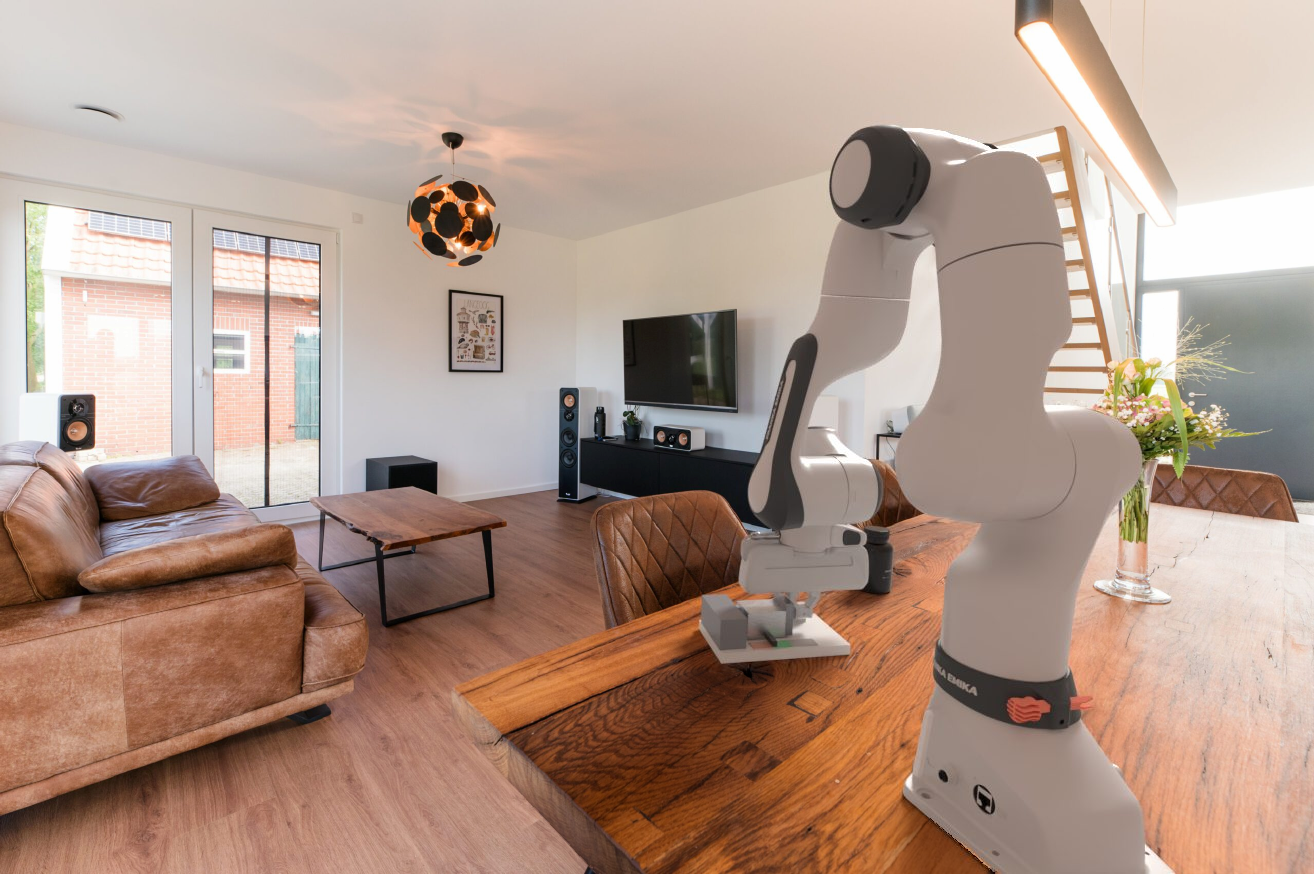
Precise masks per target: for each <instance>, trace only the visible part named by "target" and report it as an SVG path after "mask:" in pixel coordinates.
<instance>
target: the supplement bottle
mask: <svg viewBox="0 0 1314 874" xmlns="http://www.w3.org/2000/svg"><path fill="white" fill-rule="evenodd" d="M862 531H863V532H865V533H866V535H867V540H866V544H865V545H863V547H864V548H865V549H866V550H867V553H868V561H869V576H868V583H867V584H866V585H865V587H864V588H863V589H858V590H860V591H862V592H865V593H868V594H875V595H876V594H877V595H880V594H882V595H883V594H888V593H889V592H890V591H891V588H892V581H893V580H892V579H893V568H894V567H893V566H894V558H895V557H894V555H895V553H894V552H895V548H894V546H893V545H892V544H891V542H889V541H890V539H891V538H890V535H891V533H890V532H891V531H890V529H889V528H887V527H884V526H877V525H868V526H867V525H866V526H864V527H863V530H862Z"/></svg>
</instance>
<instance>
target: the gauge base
mask: <svg viewBox="0 0 1314 874" xmlns="http://www.w3.org/2000/svg"><path fill="white" fill-rule="evenodd" d="M797 603H798V604H804V603H805V601H797ZM700 613H701V615H700V619H699V620H698V630H699V631H700V633H701V634H702V636H703V638H704V639H705V641H706V642H707V644H708V645H709V647H710V649H711V650H712V652H713V653H714V655H715V656H716V657H717V659H718V661H719V663H720V664H734V663H747V662H748V663H749V662H762V661H763V662H764V661H776V660H777V661H778V660H789V659H790V660H792V659H802V658H803V659H805V658H818V657H820V658H821V657H835V656H846V655H847V656H849V655H851V647H852V646H851V644H850V643H849V642H848V641H847V640H846V639H845V638H843V636H841V635H840V634H839V633H837V631H835V629H833V628H832V627H831V626H829V625H828V624H827V623H826V622H825V621H824V620H823V619H821V618H820V617H819V615H817V614H816V613H813V615H812V618H805V619H794V618H793V630H792V635H791V636H785V637H774V638H775V639H776V640H777V641H778V642H777V647H772V645H771V644H770V643H769V642H768V641H767V640H766V638H753V639H747V638H746V637H747V618H746V617H745V615H744V614H743V613H742V612H741V611H740V610H739V609H738V607H737V604H735V602H733V600H732V599H731V598H730V597H729V595H728V594H727V593H719V594H718V593H717V594H701V612H700Z"/></svg>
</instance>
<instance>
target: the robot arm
mask: <svg viewBox="0 0 1314 874" xmlns="http://www.w3.org/2000/svg"><path fill="white" fill-rule="evenodd" d="M837 152H838V153H837V155H836V156H835V159H834V161H833V164H832V166H831V170H830V175H829V181H828V182H829V184H828V186H829V187H828V189H829V191H828V192H829V197H830V201H831V205H832V208H833V210H834V213H835V214H836V215H837V217H839V218H840V221H839V222H838V224H837V226H836V228H835V231H834V233H833V237H832V239H831V243H830V247H829V249H828V250H829V251H828V255H827V259H826V262H825V268H824V273H823V276H822V277H823V278H822V283H821V285H822V286H821V289H820V291H821V292H820V295H821V296H820V300H819V304H818V308H817V311H816V314H815V317H814V319H813V321H812V323H811V324H810V327H809V329H807V331H806V332H805V334H804V335H802V336H800V337H798V338H797V339H795V341H793V343H792V345H791V347H790V349H789V352H788V354H787V356H786V360H785V363H784V365H783V369H782V373H781V375H780V379H779V382H778V386H777V389H776V394H775V397H774V401H773V404H772V408H771V412H770V415H769V419H768V423H767V425H766V430H765V433H764V437H763V442H762V445H761V448H760V451H759V454H758V456H757V457H756V461H755V463H754V465H753V467H752V470H751V473H750V477H749V479H748V485H747V501H748V505H749V509H750V510H751V512H752V513H753V515H754V516H755V517H756V518H757V519H758V520H759V521H760V522H761V523H763V525H764V526H766V527H767V528H769V529H771V530H773V531H763V532H762V531H761V532H759V531H753V532H752V531H751V532H750V534H748V535H746V536H744V538H743V539H742V540H741V543H740V556H741V560H740V566H739V571H738V572H739V574H738V583H739V586H741V588H742V589H743V590H744V591H745V592H746V593H747V594H748V595H763V594H766V595H768V594H774V593H783V594H784V595H785V596H786V597H787V598H788V599H789V600H790V601H792V602H793V603H794V611H793V618H794V619H805V618H812V615H813V614H814V613H813V612H814V611H813V610H814V608H815V607H816V605H817V603H818V602H819V601H820V599H821V598H822V597H821V595H822V593H821V592H828V591H829V592H830V591H846V590H848V591H850V590H851V591H852V590H853V591H854V590H859V589H863V588H864V587H865V585H866V584H867V583H868V576H869V561H868V553H867V550H866V549H865V548H864V547H863V545H865V544H866V540H867V535H866V533H865V532H863V531H864V530H861V529H860V528H858V527H857V526H854V525H856V524H857V525H858V524H861V523H867V522H869V521H870V520H872V519H873V518H874V517H875V516H876V514H877V513H878V512H879V510H880V508H881V505H882V502H883V497H884V481H883V478H882V475H881V473H880V472H879V469H878V468H877V467H876V466H875V464H874V463H873V462H872V461H870V460H869V459H868V458H867V457H861V456H859V455H858V454H857V453H855V452H854V451H852V450H851V449H849V448H848V447H847V446H846V445H845V444H844V443H843V442H842V440H841V437H840V434H839V432H838V430H837V429H835V428H832V427H830V426H823V425H822V426H820V425H819V426H817V425H815V426H809V424H810V421H811V418H812V414H813V410H814V407H815V403H816V401H817V399H818V398H819V396H820V395H821V393H822V392H823V391H824V390H826V388H828V386H830V385H832V384H833V383H835V382H836V381H839V380H840V379H842V378H844V377H847V376H850V375H852V374H854V373H857V372H859V371H860V372H861V371H862V370H865V369H867V368H871V367H872V366H874V365H876V364H878V363H880V362H881V361H882V360H884V359H886V358H887V357H888V356H889V355H891V353H893V351H895V349H897V348H898V346H899V345H900V343H901V341H902V338H903V336H904V334H905V331H906V327H907V323H908V317H909V310H910V309H909V308H910V303H911V302H910V300H911V293H912V287H913V284H912V283H913V276H914V275H913V274H914V270H915V267H916V262H917V261H918V259H919V257H920V256H921V254H922V253H923V252H924V251H925V250H926V249H927V248H929V247H930V246H933V247H934V252H935V267H936V268H935V269H936V270H935V271H936V280H937V290H938V303H939V304H938V306H939V320H940V335H941V342H940V343H941V345H940V346H941V349H940V359H939V364H938V370H937V373H936V377H935V381H934V384H933V386H932V390H931V392H930V395H929V397H928V400H927V402H926V404H925V405H924V407H923V408H922V410H920V412H919V413H918V415H916V416H915V418H914V419H913V420H911V421H910V423H908V425H907V426H906V427H905V429H903V431H902V433H901V434H900V437H899V439H898V442H897V445H896V449H895V455H894V470H895V475H896V479H897V483H898V486H899V487H900V489H901V492H902V495H904V497H905V499H906V500H907V501H908V502H909V503H910V504H911V506H913V507H914V508H915V509H916V510H918V511H919V512H921V513H923V514H925V515H927V516H931V517H935V518H939V519H945V520H948V521H954V522H961V523H967V524H980V525H979V527H978V529H977V532H976V533H975V535H974V537H973V538H972V540H971V541H970V543H969V544H968V545H967V546H966V548H964V550H963V551H961V552H960V553H959V554H958V555H957V556H956V557H955V558H954V559H953V560H952V562H951V563H950V565H949V567H948V569H947V571H946V574H945V579H944V591H943V604H942V616H941V627H940V629H941V630H940V637H939V638H938V639H937V640H936V642H935V646H934V647H935V649H934V652H933V656H932V664H933V668H932V676H933V677H932V678H933V680H934V681H935V683H934V684H935V685H934V689H933V692H932V694H931V697H930V699H929V701H928V702H929V703H928V704H927V707H926V708H925V711H924V714H923V717H922V718H923V719H922V722H921V728H920V732H919V738H918V742H917V747H916V749H917V750H916V754H915V758H914V760H913V762H912V763H913V764H912V772H911V773H910V774H909V775H908V777H907V778H906V779H905V781H904V783H903V789H902V794H903V796H904V797H905V798H906V800H907V801H909V802H910V803H911V804H912V805H913V806H915V807H916V808H917V809H918V810H919V811H920V812H921V813H923V814H924V815H925V816H927V817H928V818H929V819H930V818H931V819H932V820H933V821H935V822H934V823H935V824H936V823H937V824H938V825H939V826H940V827H939V826H938V825H937V824H936V825H937V826H938V827H939V828H941V827H942V828H943V829H944V830H945V831H946V832H947V833H946V832H945V831H944V830H943V829H942V828H941V829H942V830H943V831H944V832H945V833H946V834H948V833H949V834H950V835H952V836H953V837H954V838H955V839H957V840H958V841H960V842H962V843H963V844H964V845H965V846H967V848H969V849H971V851H972V852H973V853H975V854H976V855H977V856H978V857H979V858H981V860H983V862H985V863H986V864H987V865H988V866H990V867H991V868H993V869H995V871H997V872H999V873H1001V874H1176V873H1175V871H1173V870H1172V869H1171V868H1170V867H1169V866H1168V864H1166V862H1164V861H1163V859H1162V858H1161V857H1159V856H1158V855H1157V854H1156V853H1155V852H1154V851H1153V850H1152V849H1151V848H1150V847H1149V846H1148V845H1147V844H1146V834H1145V832H1146V831H1145V830H1146V829H1145V821H1144V815H1143V810H1142V806H1141V804H1140V802H1139V800H1138V798H1137V796H1136V795H1135V794H1134V793H1133V791H1132V790H1131V788H1130V787H1129V786H1128V784H1127V783H1126V778H1125V776H1124V773H1123V771H1122V770H1121V768H1120V767H1119V766H1118V765H1117V764H1115V763H1113V762H1111V761H1110V759H1109V758H1108V756H1107V755H1106V754H1105V752H1104V751H1103V749H1102V748H1101V747H1100V745H1099V744H1098V741H1096V740H1095V737H1094V736H1093V735H1092V733H1091V732H1090V731H1089V729H1088V728H1087V726H1086V725H1085V724H1084V722H1083V720H1082V719H1081V718H1082V710H1086V709H1092V708H1093V705H1091V704H1086V703H1088V702H1090V701H1092V700H1094V696H1093V695H1083V696H1082V695H1081V696H1078V692H1077V688H1076V684H1075V679H1074V675H1073V672H1072V669H1071V668H1070V666H1069V657H1070V651H1071V650H1070V649H1071V641H1072V640H1071V639H1072V633H1073V626H1074V617H1075V609H1076V603H1077V602H1076V601H1077V598H1078V593H1079V589H1080V585H1081V582H1082V580H1083V576H1084V573H1085V571H1086V569H1087V566H1088V563H1089V560H1090V557H1091V555H1092V554H1093V551H1094V549H1095V547H1096V544H1097V543H1098V540H1099V538H1100V535H1101V533H1102V531H1103V529H1104V526H1105V525H1106V523H1107V520H1108V519H1109V517H1110V515H1111V513H1112V512H1113V510H1114V509H1115V507H1116V506H1117V505H1118V504H1119V503H1120V502H1121V501H1122V499H1123V498H1124V497H1126V496H1127V495H1128V494H1129V492H1131V491H1132V490H1133V489H1134V487H1135V486H1136V484H1137V483H1138V481H1139V479H1140V477H1141V474H1142V473H1141V472H1142V470H1143V469H1142V468H1143V453H1142V452H1143V451H1142V448H1141V446H1140V442H1139V439H1137V437H1136V436H1135V434H1134V433H1133V431H1132V430H1131V429H1130V428H1129V427H1128V426H1127V425H1126V424H1125V423H1123V422H1122V421H1120V420H1119V419H1117V418H1115V417H1112V416H1111V415H1108V414H1105V413H1102V412H1099V411H1098V410H1097V411H1096V410H1094V409H1089V408H1086V407H1084V406H1083V407H1082V406H1080V405H1075V404H1044V394H1045V393H1044V392H1045V385H1046V381H1047V376H1048V371H1049V369H1050V366H1051V365H1050V364H1051V362H1052V360H1053V358H1054V355H1055V354H1056V353H1057V352H1058V351H1059V350H1061V349H1062V348H1063V347H1064V346H1065V345H1066V344H1067V342H1068V341H1069V339H1070V337H1071V336H1072V332H1073V327H1074V326H1073V325H1074V323H1073V316H1072V315H1073V314H1072V305H1071V297H1070V288H1069V287H1070V286H1069V280H1068V271H1067V270H1068V269H1067V263H1066V262H1067V261H1066V253H1065V245H1064V239H1063V238H1064V237H1063V232H1062V226H1061V223H1060V217H1059V213H1058V209H1057V206H1056V201H1055V198H1054V195H1053V191H1052V188H1051V185H1050V183H1049V179H1048V177H1047V175H1046V173H1045V170H1044V167H1043V165H1042V163H1041V162H1040V161H1039V159H1037V157H1035V156H1034V155H1033V154H1030V153H1029V152H1027V151H1025V150H1020V149H1015V148H1001V147H999V146H996V145H994V144H992V143H988V142H987V143H986V142H982V143H980V142H977V141H975V140H972V139H968V138H965V137H961V136H958V135H953V134H950V133H948V132H947V131H941V130H936V129H928V128H913V127H901V126H899V125H896V124H877V125H871V126H866V127H863V128H860V129H858V130H857V131H855V132H854V133H852V134H851V135H850V136H849V137H848V139H846V141H845V142H844V144H843V145H842V146H841V148H840V149H839V151H837ZM804 592H805V593H807V594H808V596H807V597H806V599H805V601H804V602H805V603H804V604H798V603H797V602H798V600H796V599H799V598H800V593H804ZM931 819H930V820H931ZM932 820H931V821H932ZM933 821H932V822H933ZM949 834H948V835H949ZM950 835H949V836H950ZM955 839H954V840H955Z"/></svg>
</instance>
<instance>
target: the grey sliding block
mask: <svg viewBox="0 0 1314 874" xmlns="http://www.w3.org/2000/svg"><path fill="white" fill-rule="evenodd" d="M736 605H737V607H738V609H739V610H740V611H741V612H742V613H743V614H744V615H745V617H746V618H747V637H746V638H747V639H753V638H766V640H767V641H768V642H769V643H770V644H771V645H772V647H777V642H778V641H777V640H776V639H775V638H774V637H785V636H791V635H792V630H793V611H794V603H793V602H792V601H790V600H789V599H788V598H787V597H786V595H785V593H773V598H767V599H766V598H765V599H745V600H744V599H743V600H737V601H736Z"/></svg>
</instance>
